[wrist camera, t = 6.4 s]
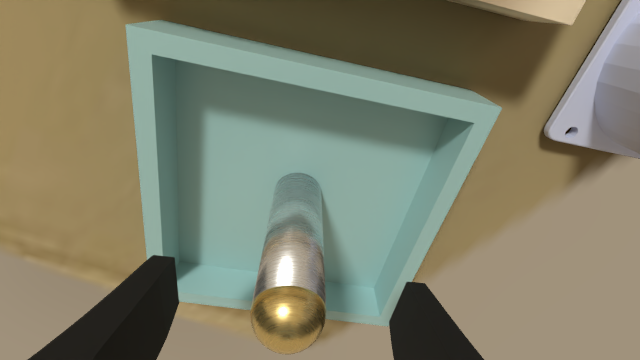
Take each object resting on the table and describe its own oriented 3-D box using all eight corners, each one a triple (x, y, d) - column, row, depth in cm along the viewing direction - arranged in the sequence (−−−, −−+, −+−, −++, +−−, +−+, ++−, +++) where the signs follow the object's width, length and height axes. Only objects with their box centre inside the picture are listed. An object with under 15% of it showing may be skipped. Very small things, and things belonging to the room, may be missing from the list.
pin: (324, 175, 14) (334, 324, 8) (317, 213, 15) (321, 372, 9) (276, 169, 14) (244, 318, 7) (273, 209, 15) (243, 368, 9)
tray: (470, 89, 13) (502, 107, 11) (379, 289, 19) (388, 326, 17) (161, 19, 11) (125, 24, 9) (170, 261, 17) (150, 298, 15)
